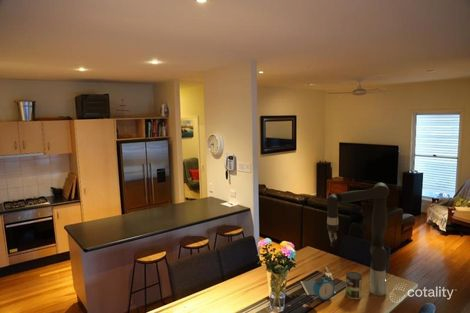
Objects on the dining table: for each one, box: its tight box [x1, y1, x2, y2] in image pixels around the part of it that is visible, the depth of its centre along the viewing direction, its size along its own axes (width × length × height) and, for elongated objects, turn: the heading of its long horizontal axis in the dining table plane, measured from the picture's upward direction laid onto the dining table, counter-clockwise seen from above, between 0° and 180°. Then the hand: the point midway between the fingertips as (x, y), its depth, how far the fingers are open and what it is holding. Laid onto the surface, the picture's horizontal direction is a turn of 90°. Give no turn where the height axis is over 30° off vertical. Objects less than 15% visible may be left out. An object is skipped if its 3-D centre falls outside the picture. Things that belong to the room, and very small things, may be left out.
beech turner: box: [324, 266, 334, 281], centre depth 246 cm, size 18×4×1 cm, turn 174°
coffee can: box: [345, 271, 363, 300], centre depth 216 cm, size 10×10×14 cm
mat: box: [300, 279, 337, 297], centre depth 227 cm, size 20×18×1 cm
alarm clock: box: [313, 275, 336, 302], centre depth 214 cm, size 13×6×15 cm, turn 108°
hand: (332, 246), depth 227 cm, fingers closed
